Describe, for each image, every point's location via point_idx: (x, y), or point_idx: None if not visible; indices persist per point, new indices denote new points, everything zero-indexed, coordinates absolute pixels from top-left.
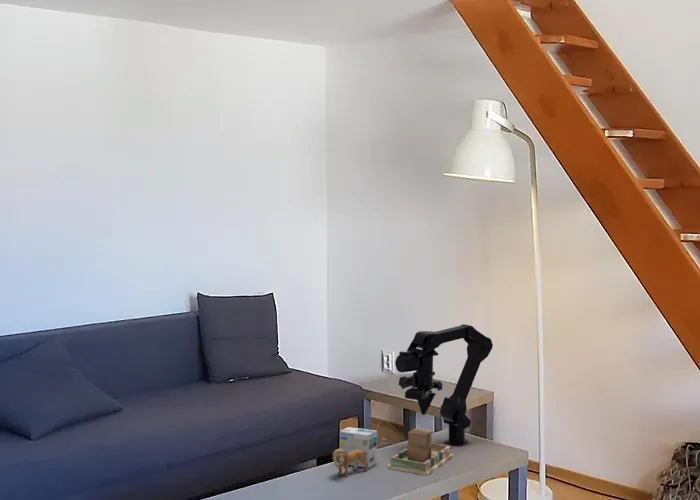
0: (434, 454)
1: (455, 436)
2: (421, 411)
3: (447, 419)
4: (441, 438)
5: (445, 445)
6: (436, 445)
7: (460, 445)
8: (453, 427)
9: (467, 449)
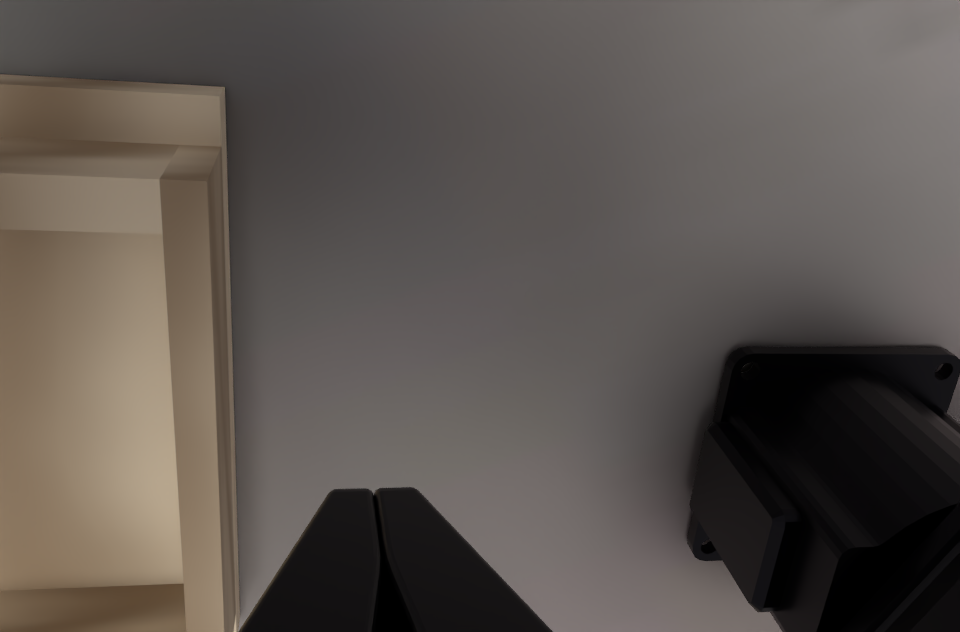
0: (69, 473)
1: (729, 560)
2: (288, 569)
3: (896, 627)
4: (941, 229)
5: (215, 629)
6: (181, 511)
7: (688, 538)
8: (821, 609)
9: (595, 627)
